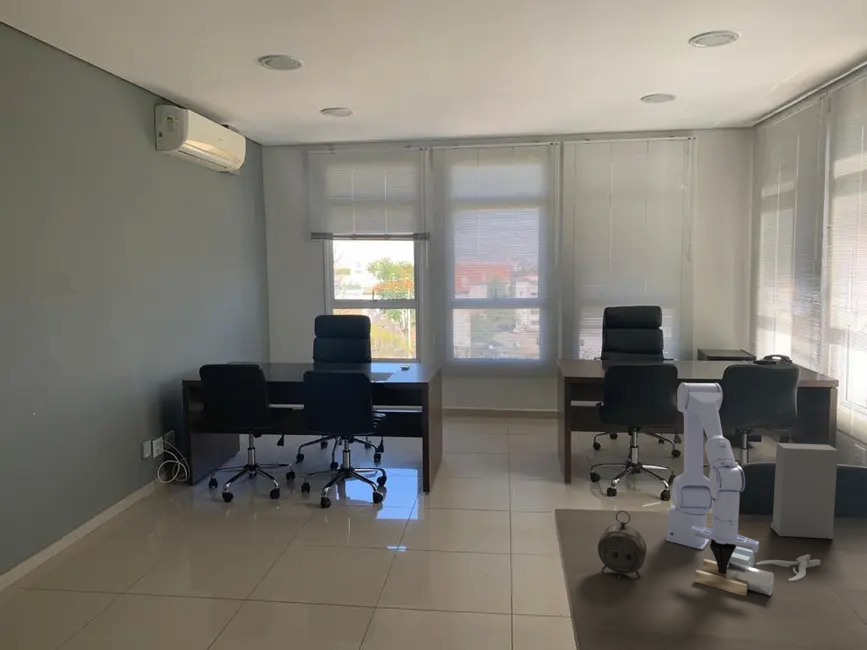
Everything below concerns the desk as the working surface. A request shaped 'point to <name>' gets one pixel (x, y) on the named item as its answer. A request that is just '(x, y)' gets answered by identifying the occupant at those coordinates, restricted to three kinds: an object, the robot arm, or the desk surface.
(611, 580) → the desk surface
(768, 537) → the desk surface
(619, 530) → the alarm clock
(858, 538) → the desk surface
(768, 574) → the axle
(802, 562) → the pliers
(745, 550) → the v block
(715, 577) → the wooden rails
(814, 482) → the tall grey box
